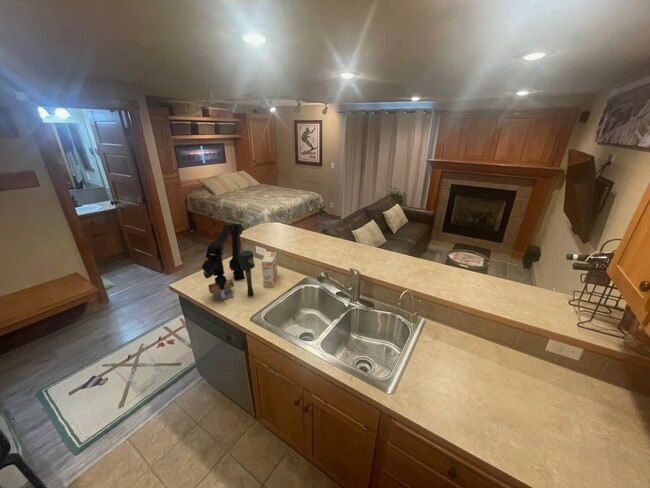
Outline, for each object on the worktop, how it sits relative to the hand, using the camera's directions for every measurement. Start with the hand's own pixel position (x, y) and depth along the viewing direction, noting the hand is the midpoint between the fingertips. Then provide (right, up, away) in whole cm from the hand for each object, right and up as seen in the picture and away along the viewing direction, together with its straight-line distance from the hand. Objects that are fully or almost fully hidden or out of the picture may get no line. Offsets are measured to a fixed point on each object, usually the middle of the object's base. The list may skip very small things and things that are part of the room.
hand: (221, 286), depth 163 cm
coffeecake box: (+27, 0, +18) cm, 33 cm away
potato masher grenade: (+18, -7, +3) cm, 19 cm away
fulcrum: (0, -6, +3) cm, 6 cm away
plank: (0, -2, +1) cm, 2 cm away
